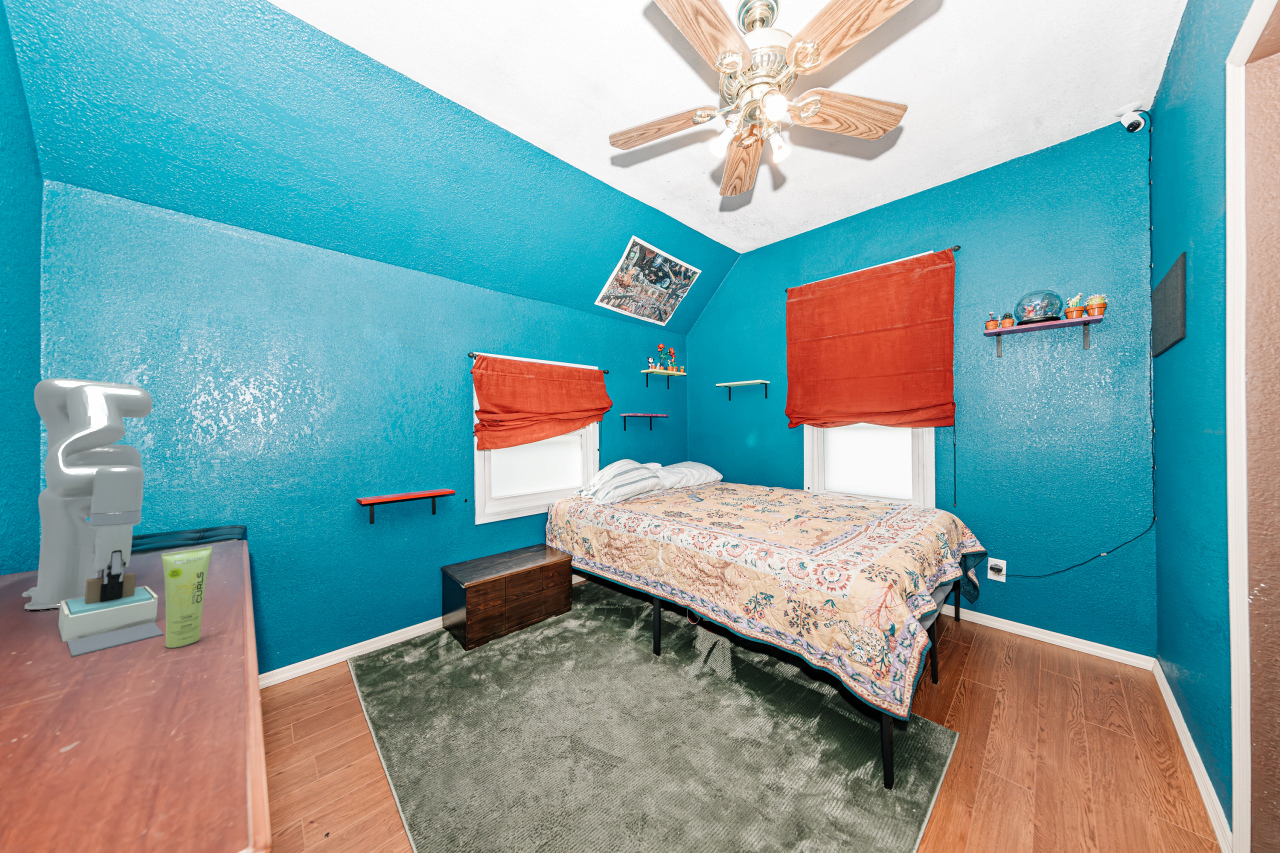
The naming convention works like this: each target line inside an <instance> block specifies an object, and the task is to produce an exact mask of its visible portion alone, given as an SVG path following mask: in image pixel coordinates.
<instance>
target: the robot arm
mask: <svg viewBox="0 0 1280 853" xmlns="http://www.w3.org/2000/svg"><path fill="white" fill-rule="evenodd" d="M33 392H34V393H33V397H34V398H33V399H34V404H35V408H36V410H37V412H38V415H39V417H40V418H41V421H42V422H43V423H44V425H45V428H46V431H47V432H46V433H47V455H46V457H45V462H44V472H45V473H44V474H45V481H46V482H45V483H46V486H47V487H46V488H44V489H43V490H42V491H41V492H40V493H39V494H38V495H39V496H38V501H37V502H38V510H39V516H40V523H41V524H40V525H41V526H40V527H41V529H40V530H41V533H40V550H39V561H38V562H39V563H38V571H37V584H36V586H34V587H31V588H29V589H28V591H23V593H21V597H22V598H28V597H29V598H31V601H30V602H27V603H26V604H24V610H25V609H46V608H55V607H60V601H63V600H68V599H74V598H80V597H85V590H86V580H87V579H94V578H98V575H99V573H100V577H104V578H103V584H101V593H100V601H101V602H105V601H111V600H116V599H121V598H122V595H123V582H124V581H123V574H124V569H127V567H128V568H129V566H130V559H131V553H132V542H133V532H134V531H133V527H134V526H135V525H139V524H141V519H142V518H141V517H142V506H143V505H142V504H143V501H144V480H145V473H144V470H143V468H142V458H141V457H142V456H141V453H140V451H139V450H138V449H137V448H136V447H134V446H133V445H129V444H115V443H117V442H119V441H121V440H122V439H123V438H124V437H125V435H126V428H125V425H124V423H125V422H124V420H123V418H136V419H141V418H146V417H148V416H149V415H150V414H151V412H152V411H153V399H152V395H150V393H149V392H148V391H147V390H146V389H144V388H142V387H139V386H137V385H134V384H128V383H119V382H109V381H101V380H100V381H99V380H89V379H80V378H79V379H78V378H67V377H66V378H64V377H63V378H62V377H61V378H60V377H58V378H57V377H56V378H47V379H44V380H41V381H39V382H38V383H37V384H36V385H35V388H34V391H33ZM88 518H89V520H88Z"/></svg>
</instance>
